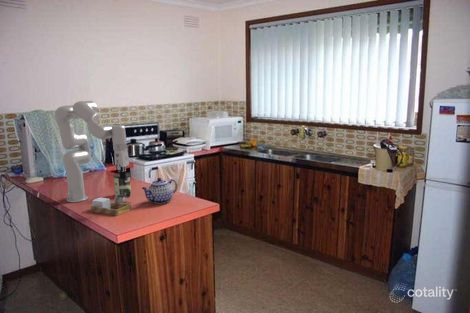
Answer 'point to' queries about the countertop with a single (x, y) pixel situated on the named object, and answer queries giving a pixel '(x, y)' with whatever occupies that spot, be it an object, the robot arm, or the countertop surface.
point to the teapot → (160, 191)
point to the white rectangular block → (102, 203)
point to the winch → (121, 200)
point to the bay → (121, 206)
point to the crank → (126, 194)
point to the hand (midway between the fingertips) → (123, 178)
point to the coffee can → (121, 184)
